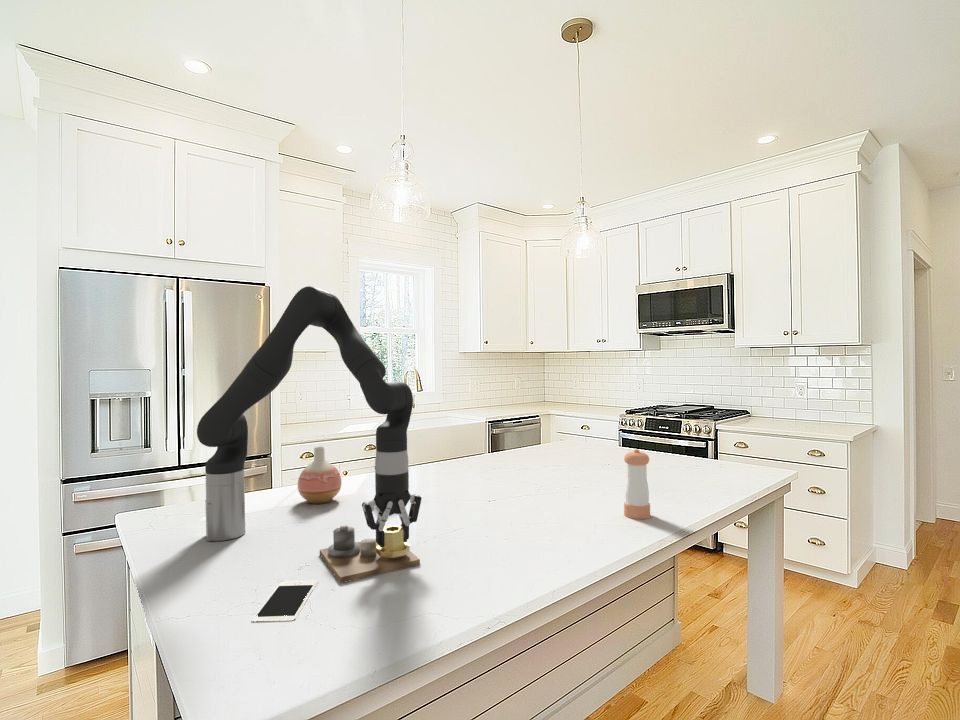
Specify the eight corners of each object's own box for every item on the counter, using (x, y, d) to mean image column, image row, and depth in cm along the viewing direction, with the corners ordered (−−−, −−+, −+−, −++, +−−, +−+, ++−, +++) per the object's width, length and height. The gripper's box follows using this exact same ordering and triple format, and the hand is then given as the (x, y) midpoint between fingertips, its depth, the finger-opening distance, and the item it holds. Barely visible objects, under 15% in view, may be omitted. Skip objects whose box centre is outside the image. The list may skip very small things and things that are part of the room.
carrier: (340, 583, 109) (340, 548, 109) (319, 554, 124) (319, 524, 124) (420, 564, 118) (419, 532, 118) (391, 540, 134) (391, 512, 133)
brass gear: (383, 559, 115) (383, 536, 115) (373, 549, 121) (372, 527, 121) (413, 553, 118) (412, 530, 118) (401, 543, 124) (401, 521, 124)
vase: (314, 510, 160) (313, 452, 160) (289, 502, 168) (288, 448, 168) (350, 499, 171) (349, 446, 171) (324, 493, 179) (324, 442, 179)
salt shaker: (651, 519, 147) (651, 452, 147) (625, 518, 149) (624, 451, 148) (648, 512, 154) (648, 447, 154) (623, 510, 156) (622, 446, 156)
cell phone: (318, 583, 110) (318, 580, 110) (294, 623, 94) (294, 619, 94) (280, 584, 109) (280, 581, 109) (250, 624, 93) (250, 621, 93)
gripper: (366, 476, 112) (367, 555, 113) (427, 468, 120) (428, 542, 120) (356, 470, 119) (357, 544, 119) (414, 463, 126) (415, 533, 126)
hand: (392, 543), depth 120 cm, fingers closed on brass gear, 4 cm apart
